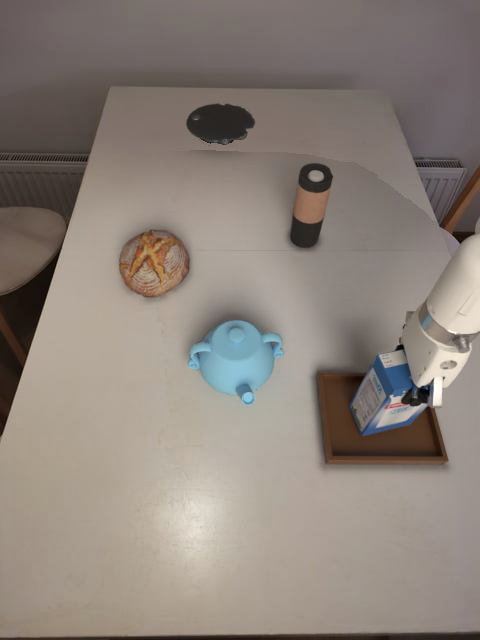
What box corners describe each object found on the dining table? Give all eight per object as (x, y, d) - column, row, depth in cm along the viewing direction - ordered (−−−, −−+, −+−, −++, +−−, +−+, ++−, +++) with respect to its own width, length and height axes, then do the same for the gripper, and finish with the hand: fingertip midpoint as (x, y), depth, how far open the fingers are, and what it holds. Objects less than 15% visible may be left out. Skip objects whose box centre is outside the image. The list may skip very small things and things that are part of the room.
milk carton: (361, 436, 80) (394, 390, 63) (348, 406, 83) (376, 354, 67) (410, 424, 81) (455, 376, 65) (396, 395, 85) (435, 342, 68)
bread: (120, 305, 100) (107, 277, 91) (127, 243, 111) (116, 213, 102) (190, 299, 100) (183, 271, 91) (190, 238, 111) (184, 208, 102)
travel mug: (283, 240, 111) (292, 175, 94) (298, 224, 114) (309, 158, 98) (309, 253, 108) (323, 188, 92) (324, 235, 112) (339, 170, 96)
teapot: (274, 329, 95) (279, 295, 85) (296, 414, 84) (305, 386, 74) (185, 342, 93) (179, 307, 83) (195, 430, 82) (190, 403, 72)
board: (172, 133, 137) (170, 118, 133) (223, 108, 146) (223, 93, 141) (217, 165, 128) (217, 150, 124) (269, 137, 137) (270, 121, 133)
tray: (420, 378, 89) (425, 373, 87) (443, 465, 79) (448, 461, 77) (316, 378, 89) (318, 372, 87) (325, 464, 79) (328, 460, 77)
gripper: (503, 379, 50) (442, 431, 65) (460, 267, 60) (416, 334, 75) (439, 378, 50) (393, 431, 65) (406, 266, 60) (373, 334, 75)
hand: (405, 379), depth 70 cm, fingers closed on milk carton, 7 cm apart
